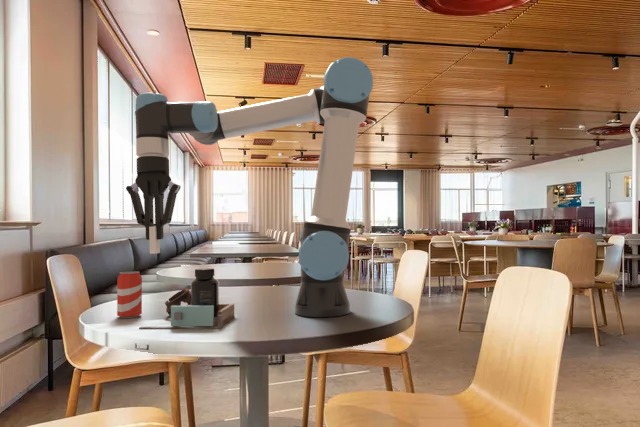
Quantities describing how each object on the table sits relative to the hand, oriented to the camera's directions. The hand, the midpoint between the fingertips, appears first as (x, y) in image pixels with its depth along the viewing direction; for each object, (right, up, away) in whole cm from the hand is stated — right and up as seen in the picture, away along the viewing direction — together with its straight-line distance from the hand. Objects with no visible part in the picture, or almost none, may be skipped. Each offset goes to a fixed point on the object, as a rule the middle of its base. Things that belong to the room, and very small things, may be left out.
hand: (155, 253), depth 111 cm
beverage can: (-11, -18, +12) cm, 25 cm away
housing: (+8, -18, +2) cm, 19 cm away
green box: (+10, -17, -4) cm, 21 cm away
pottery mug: (+4, -18, +14) cm, 23 cm away
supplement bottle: (+11, -17, +4) cm, 20 cm away
